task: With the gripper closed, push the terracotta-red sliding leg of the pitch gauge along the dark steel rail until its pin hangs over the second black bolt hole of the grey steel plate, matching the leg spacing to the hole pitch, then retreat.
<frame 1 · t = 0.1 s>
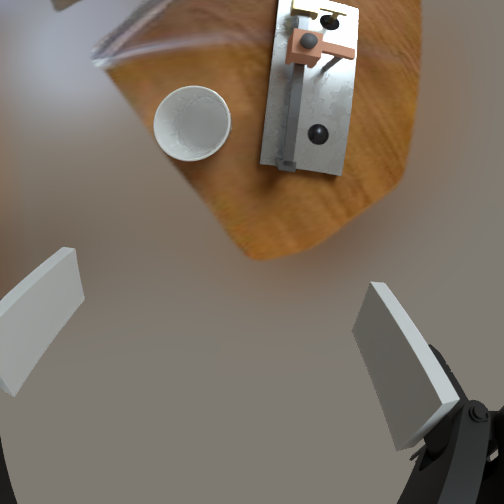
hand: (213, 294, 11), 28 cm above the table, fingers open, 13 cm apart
pitch gauge: (311, 77, 31), on the table
sliding leg: (317, 54, 24), point 6 cm above the table, slide at 0.0 cm
white cup: (207, 125, 34), on the table
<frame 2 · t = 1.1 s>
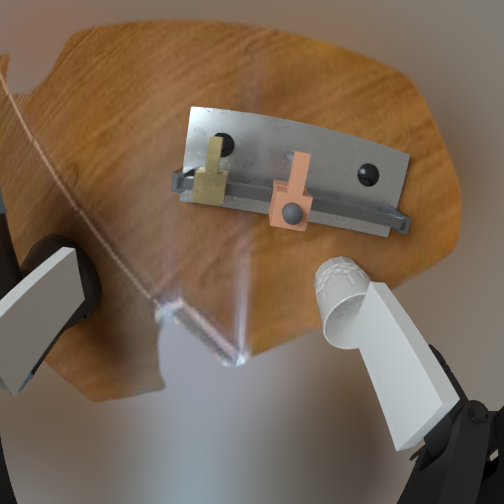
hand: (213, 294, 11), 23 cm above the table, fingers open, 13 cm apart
pitch gauge: (298, 170, 31), on the table
sliding leg: (290, 184, 25), point 6 cm above the table, slide at 0.0 cm
white cup: (337, 277, 37), on the table
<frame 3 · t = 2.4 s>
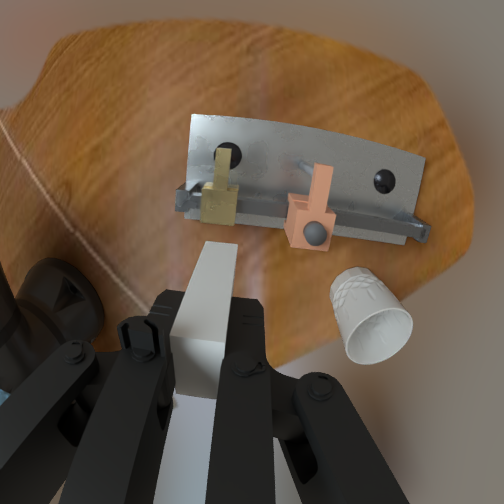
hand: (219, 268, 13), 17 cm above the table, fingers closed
pitch gauge: (311, 179, 29), on the table
sliding leg: (308, 198, 23), point 6 cm above the table, slide at 0.0 cm
white cup: (353, 288, 35), on the table
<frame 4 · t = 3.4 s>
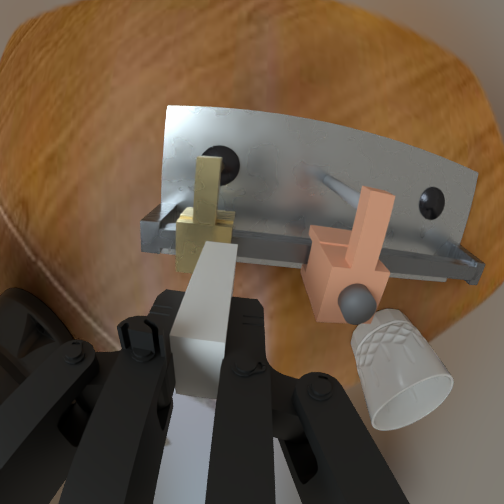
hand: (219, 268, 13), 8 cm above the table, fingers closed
pitch gauge: (337, 198, 20), on the table
sliding leg: (342, 236, 15), point 6 cm above the table, slide at 0.0 cm
white cup: (378, 331, 26), on the table
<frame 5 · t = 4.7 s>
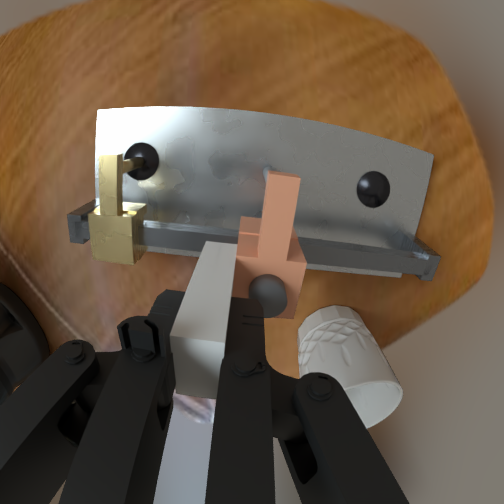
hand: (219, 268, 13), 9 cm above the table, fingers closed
pitch gauge: (263, 188, 20), on the table
sliding leg: (268, 226, 15), point 6 cm above the table, slide at 1.6 cm, touching gripper
white cup: (329, 330, 26), on the table
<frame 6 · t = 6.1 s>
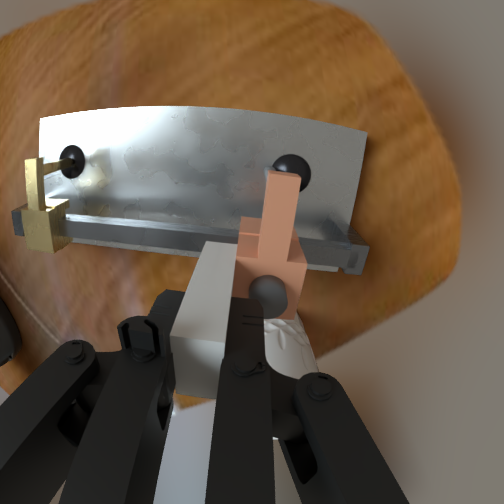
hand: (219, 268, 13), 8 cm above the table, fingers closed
pitch gauge: (178, 179, 20), on the table
sliding leg: (268, 226, 15), point 6 cm above the table, slide at 8.0 cm, touching gripper
white cup: (267, 327, 26), on the table
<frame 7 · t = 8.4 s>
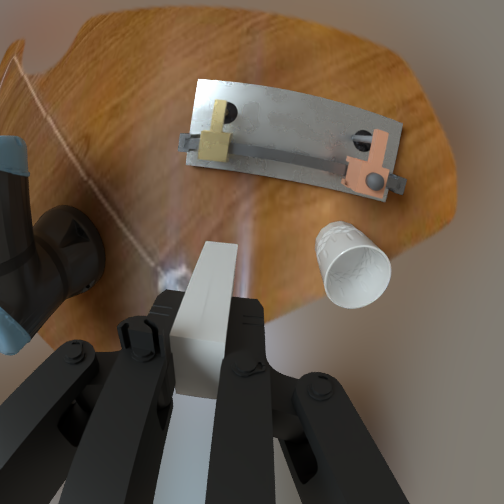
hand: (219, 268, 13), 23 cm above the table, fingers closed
pitch gauge: (297, 136, 32), on the table
sliding leg: (364, 159, 26), point 6 cm above the table, slide at 8.2 cm
white cup: (337, 243, 37), on the table
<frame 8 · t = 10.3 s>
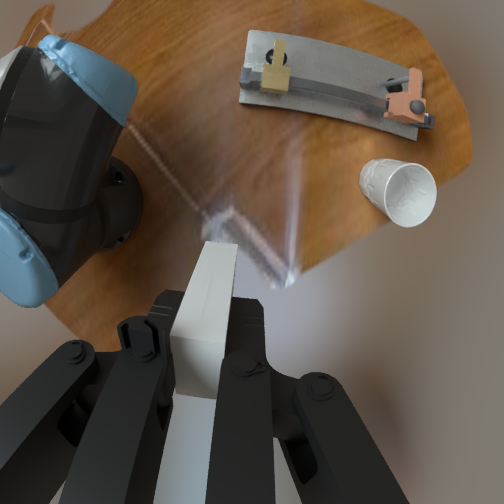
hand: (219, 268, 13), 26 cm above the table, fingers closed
pitch gauge: (338, 82, 31), on the table
sliding leg: (401, 96, 26), point 6 cm above the table, slide at 8.2 cm
white cup: (378, 179, 37), on the table
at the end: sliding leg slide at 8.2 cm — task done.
